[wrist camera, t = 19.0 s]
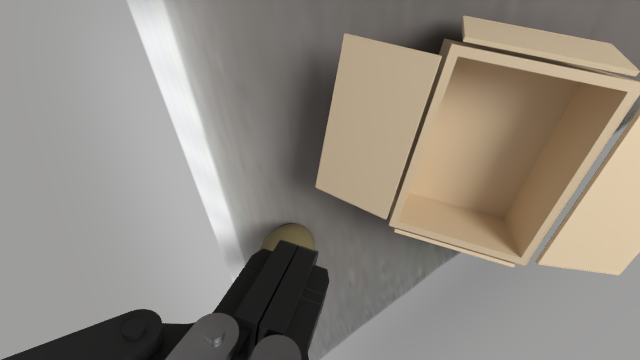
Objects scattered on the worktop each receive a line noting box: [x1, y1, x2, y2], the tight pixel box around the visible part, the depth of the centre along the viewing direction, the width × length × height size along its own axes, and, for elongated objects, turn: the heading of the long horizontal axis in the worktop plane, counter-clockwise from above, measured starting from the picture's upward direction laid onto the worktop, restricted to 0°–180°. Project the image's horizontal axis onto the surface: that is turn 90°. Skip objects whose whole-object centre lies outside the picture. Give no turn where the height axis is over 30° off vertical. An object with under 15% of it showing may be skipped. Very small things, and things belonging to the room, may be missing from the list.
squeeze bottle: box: [259, 223, 314, 251], centre depth 42 cm, size 8×8×18 cm
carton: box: [389, 16, 640, 267], centre depth 33 cm, size 23×14×8 cm, turn 170°
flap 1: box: [315, 33, 442, 220], centre depth 32 cm, size 17×1×9 cm
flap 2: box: [536, 108, 640, 275], centre depth 28 cm, size 17×1×9 cm
